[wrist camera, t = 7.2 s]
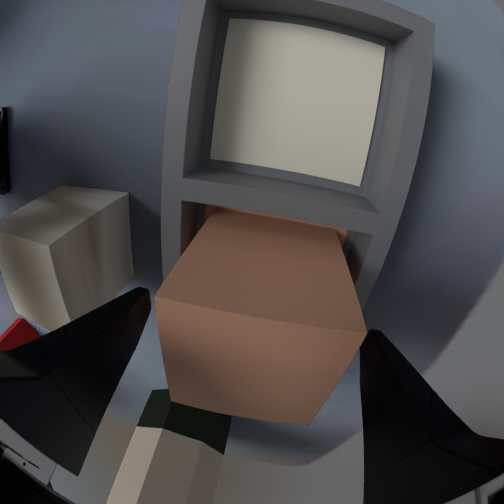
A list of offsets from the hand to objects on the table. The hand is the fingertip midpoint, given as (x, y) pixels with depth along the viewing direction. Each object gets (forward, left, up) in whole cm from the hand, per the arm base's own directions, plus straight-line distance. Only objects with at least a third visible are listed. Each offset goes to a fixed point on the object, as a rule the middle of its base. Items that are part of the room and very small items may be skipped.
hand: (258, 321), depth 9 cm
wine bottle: (-4, -18, -5) cm, 19 cm away
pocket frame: (0, +4, -4) cm, 6 cm away
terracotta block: (0, 0, -3) cm, 3 cm away
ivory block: (-10, 0, -5) cm, 11 cm away
